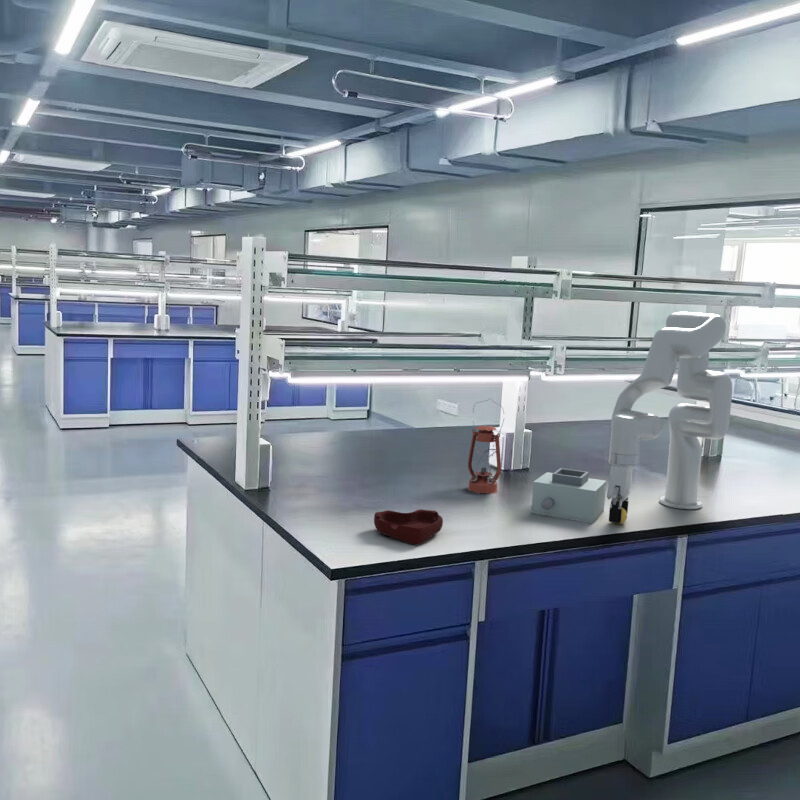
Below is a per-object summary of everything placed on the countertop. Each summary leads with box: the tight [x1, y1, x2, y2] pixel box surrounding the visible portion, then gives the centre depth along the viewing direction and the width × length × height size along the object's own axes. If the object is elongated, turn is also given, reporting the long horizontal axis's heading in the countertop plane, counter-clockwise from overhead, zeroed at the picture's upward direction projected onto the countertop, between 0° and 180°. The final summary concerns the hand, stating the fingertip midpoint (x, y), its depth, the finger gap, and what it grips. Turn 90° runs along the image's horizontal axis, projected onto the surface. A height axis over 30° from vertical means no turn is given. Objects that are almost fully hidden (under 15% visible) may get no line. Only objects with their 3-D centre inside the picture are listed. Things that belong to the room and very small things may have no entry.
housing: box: [530, 467, 607, 524], centre depth 227 cm, size 17×18×12 cm
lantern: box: [467, 397, 505, 495], centre depth 248 cm, size 10×10×30 cm
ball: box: [615, 507, 628, 525], centre depth 220 cm, size 5×5×5 cm
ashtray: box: [373, 508, 444, 546], centre depth 202 cm, size 18×16×5 cm
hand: (618, 517), depth 220 cm, fingers open, 9 cm apart
